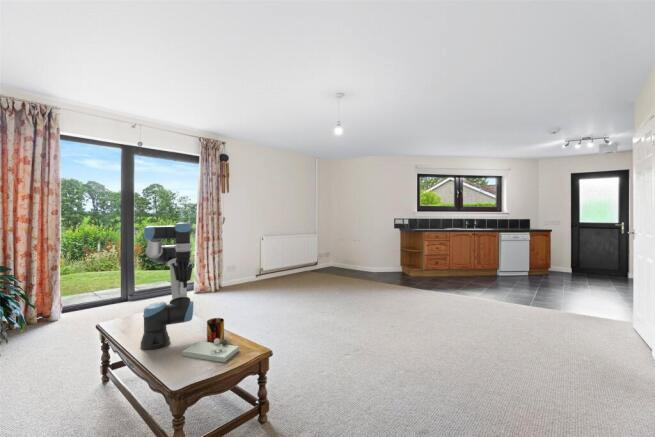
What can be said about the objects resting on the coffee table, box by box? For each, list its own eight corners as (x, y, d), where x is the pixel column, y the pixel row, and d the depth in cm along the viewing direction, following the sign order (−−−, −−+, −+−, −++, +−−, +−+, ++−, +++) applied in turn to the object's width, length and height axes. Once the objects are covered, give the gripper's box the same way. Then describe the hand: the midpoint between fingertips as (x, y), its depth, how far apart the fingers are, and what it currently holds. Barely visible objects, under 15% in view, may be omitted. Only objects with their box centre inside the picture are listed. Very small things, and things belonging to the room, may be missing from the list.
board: (182, 355, 175) (181, 351, 175) (198, 345, 189) (198, 340, 189) (224, 362, 168) (224, 357, 168) (238, 350, 182) (238, 346, 182)
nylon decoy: (213, 337, 184) (218, 338, 183) (216, 338, 187) (221, 338, 186) (212, 343, 183) (216, 344, 182) (215, 343, 186) (220, 344, 185)
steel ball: (216, 350, 173) (220, 354, 173) (219, 348, 176) (223, 352, 176) (212, 354, 174) (216, 358, 173) (216, 352, 177) (220, 356, 176)
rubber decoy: (219, 343, 182) (222, 338, 182) (221, 342, 185) (225, 337, 185) (223, 347, 181) (226, 342, 181) (225, 346, 184) (229, 341, 184)
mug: (214, 347, 186) (213, 326, 186) (204, 340, 196) (204, 320, 196) (229, 342, 193) (229, 322, 192) (219, 335, 203) (219, 316, 202)
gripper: (168, 251, 177) (168, 294, 178) (188, 252, 174) (188, 296, 175) (177, 249, 184) (178, 290, 185) (197, 250, 181) (197, 292, 182)
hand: (183, 293), depth 180 cm, fingers closed
